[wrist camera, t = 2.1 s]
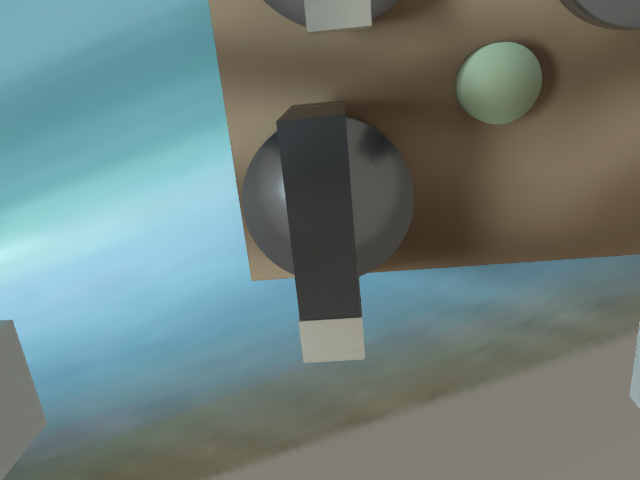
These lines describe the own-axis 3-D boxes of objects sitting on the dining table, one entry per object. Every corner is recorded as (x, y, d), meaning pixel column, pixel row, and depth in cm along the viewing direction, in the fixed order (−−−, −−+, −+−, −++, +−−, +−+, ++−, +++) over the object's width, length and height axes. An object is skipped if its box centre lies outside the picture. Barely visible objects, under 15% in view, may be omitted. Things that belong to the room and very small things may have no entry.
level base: (195, -163, 19) (168, -202, 16) (738, -234, 18) (818, -292, 15) (258, 264, 25) (247, 292, 22) (665, 235, 24) (712, 260, 21)
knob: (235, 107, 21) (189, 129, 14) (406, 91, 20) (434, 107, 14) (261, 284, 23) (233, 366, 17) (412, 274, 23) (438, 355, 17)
